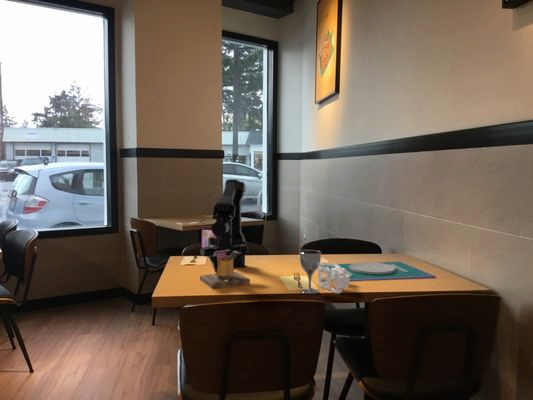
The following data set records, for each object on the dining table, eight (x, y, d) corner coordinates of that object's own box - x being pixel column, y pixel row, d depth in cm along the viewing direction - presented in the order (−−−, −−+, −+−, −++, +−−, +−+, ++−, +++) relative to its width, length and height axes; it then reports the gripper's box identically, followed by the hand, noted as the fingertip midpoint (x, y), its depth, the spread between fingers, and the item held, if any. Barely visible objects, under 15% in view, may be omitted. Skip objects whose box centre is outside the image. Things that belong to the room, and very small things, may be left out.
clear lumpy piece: (350, 293, 166) (351, 274, 166) (321, 293, 167) (321, 273, 166) (343, 279, 186) (343, 262, 186) (316, 279, 187) (316, 262, 186)
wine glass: (305, 287, 174) (306, 248, 173) (324, 290, 170) (324, 251, 169) (295, 291, 168) (295, 252, 167) (313, 295, 163) (314, 254, 162)
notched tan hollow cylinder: (229, 271, 185) (229, 257, 185) (236, 275, 179) (236, 260, 179) (213, 273, 182) (213, 258, 182) (219, 276, 176) (219, 261, 176)
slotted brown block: (236, 276, 191) (236, 256, 190) (249, 284, 178) (249, 262, 178) (199, 280, 184) (199, 259, 183) (211, 288, 171) (211, 266, 171)
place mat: (400, 262, 224) (400, 258, 223) (435, 277, 194) (435, 272, 194) (313, 266, 214) (313, 261, 214) (337, 282, 185) (337, 277, 184)
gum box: (200, 252, 244) (200, 229, 243) (213, 251, 247) (213, 228, 246) (212, 260, 224) (212, 234, 223) (226, 258, 227) (226, 234, 226)
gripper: (237, 228, 191) (237, 265, 192) (195, 231, 182) (195, 269, 184) (248, 232, 181) (248, 270, 182) (204, 235, 173) (204, 275, 174)
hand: (224, 271), depth 181 cm, fingers open, 7 cm apart
